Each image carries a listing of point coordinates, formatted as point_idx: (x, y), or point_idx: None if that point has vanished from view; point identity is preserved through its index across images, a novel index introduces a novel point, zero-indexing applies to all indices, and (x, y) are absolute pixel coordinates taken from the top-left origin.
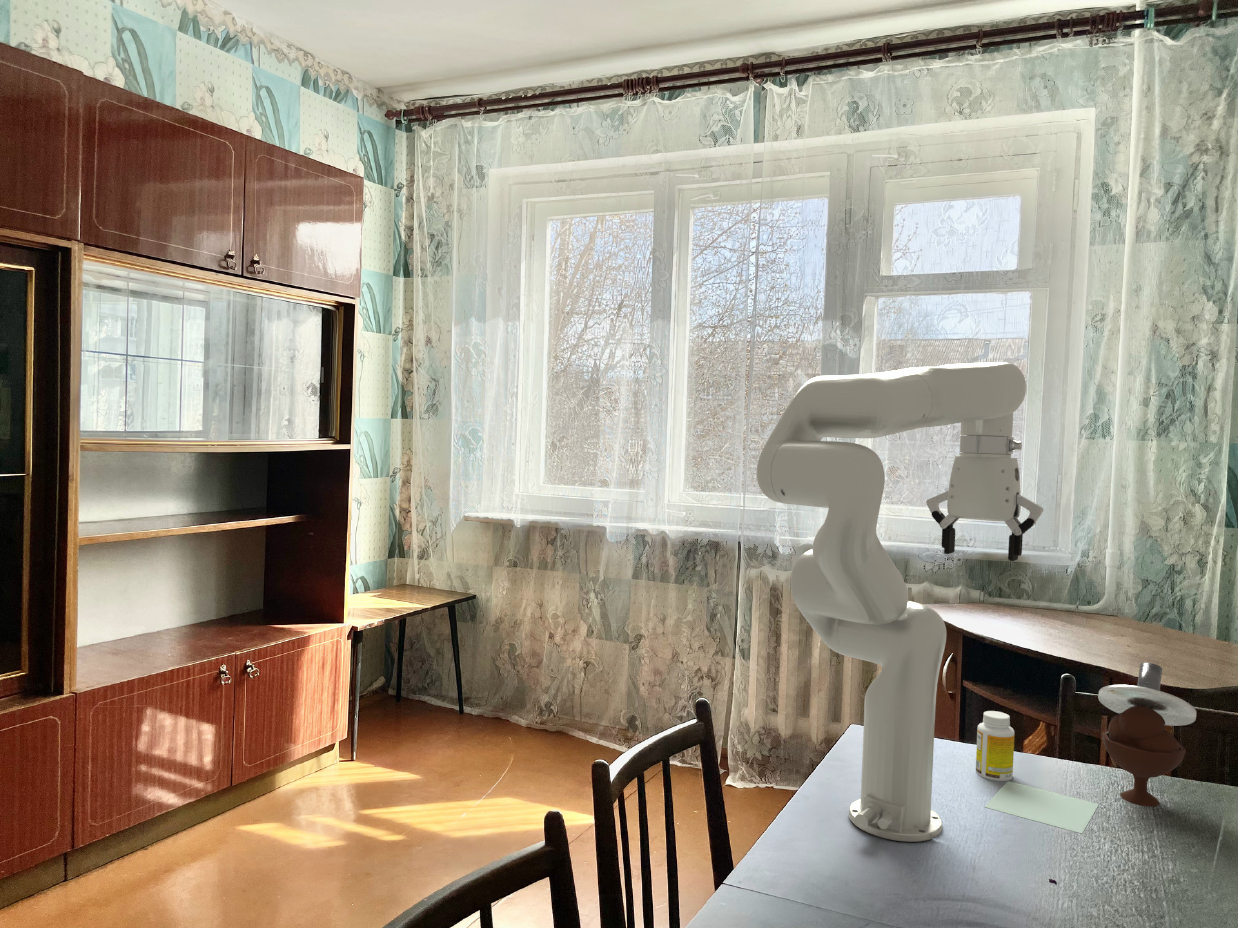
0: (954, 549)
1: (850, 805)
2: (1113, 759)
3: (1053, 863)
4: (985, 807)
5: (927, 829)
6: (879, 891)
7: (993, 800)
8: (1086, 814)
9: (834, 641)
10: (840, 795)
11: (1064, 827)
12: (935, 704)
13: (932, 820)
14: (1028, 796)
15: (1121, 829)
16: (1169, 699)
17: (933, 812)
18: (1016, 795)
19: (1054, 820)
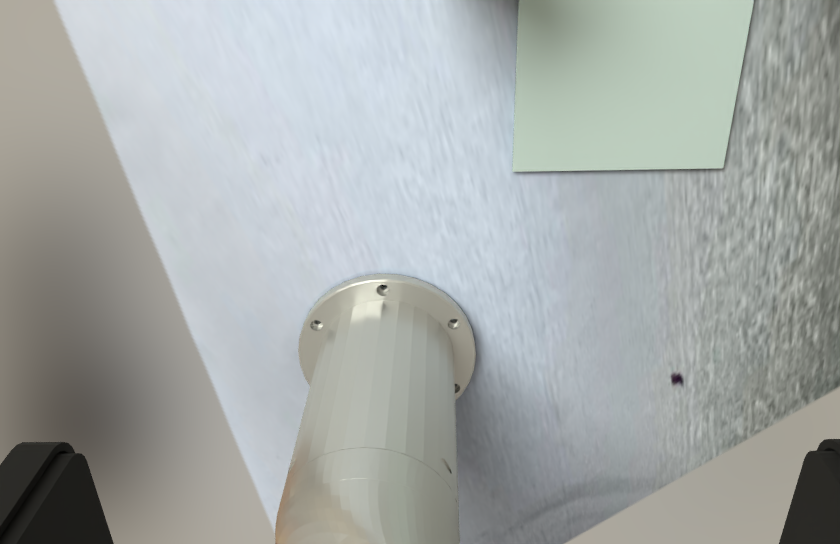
0: (68, 472)
1: (304, 373)
2: None
3: (674, 320)
4: (515, 170)
5: (460, 377)
6: (463, 540)
7: (521, 118)
8: (732, 45)
9: None
10: (246, 303)
11: (686, 163)
12: (456, 526)
13: (453, 336)
14: (590, 26)
15: (807, 61)
16: None
17: (442, 303)
18: (562, 43)
19: (663, 137)
